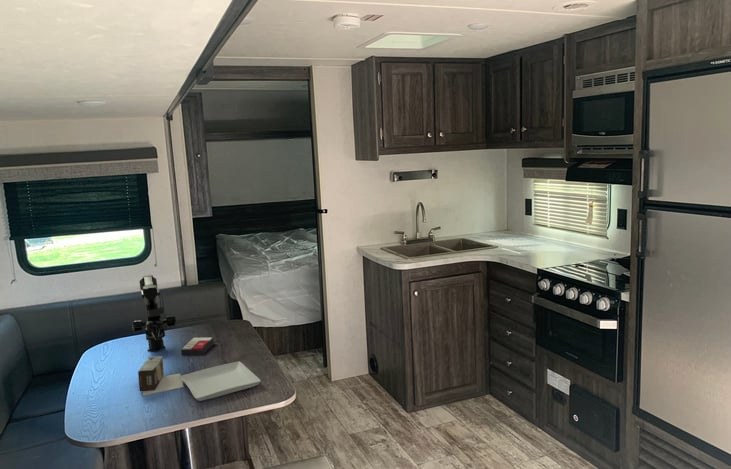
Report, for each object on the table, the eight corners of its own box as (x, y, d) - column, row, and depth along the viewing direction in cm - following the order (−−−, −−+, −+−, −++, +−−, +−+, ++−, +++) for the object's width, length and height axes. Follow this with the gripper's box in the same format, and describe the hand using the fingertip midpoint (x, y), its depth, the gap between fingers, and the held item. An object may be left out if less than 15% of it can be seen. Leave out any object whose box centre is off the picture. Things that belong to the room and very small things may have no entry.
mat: (141, 381, 238) (141, 380, 238) (180, 373, 244) (179, 373, 244) (143, 395, 224) (143, 395, 224) (183, 387, 230) (183, 386, 230)
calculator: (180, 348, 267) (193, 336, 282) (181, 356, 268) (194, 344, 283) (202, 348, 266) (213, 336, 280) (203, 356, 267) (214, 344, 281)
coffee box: (164, 375, 243) (155, 391, 228) (149, 375, 243) (139, 392, 227) (163, 355, 242) (153, 370, 226) (148, 356, 241) (137, 371, 225)
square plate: (196, 407, 212) (195, 397, 211) (179, 383, 235) (178, 375, 234) (262, 388, 226) (261, 379, 225) (240, 367, 249) (239, 359, 248)
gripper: (130, 304, 249) (134, 335, 241) (173, 298, 257) (178, 328, 249) (131, 316, 257) (134, 346, 250) (172, 310, 266) (177, 339, 258)
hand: (156, 339), depth 251 cm, fingers closed
